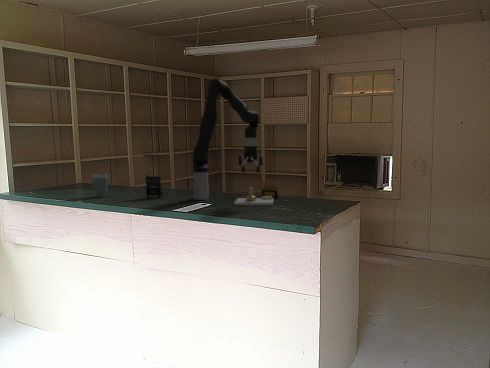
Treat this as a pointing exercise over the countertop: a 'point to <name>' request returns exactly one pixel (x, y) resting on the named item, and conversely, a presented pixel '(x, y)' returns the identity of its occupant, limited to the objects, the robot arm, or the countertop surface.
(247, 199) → the levelling knob
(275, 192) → the ammunition clip
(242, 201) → the base plate
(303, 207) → the countertop surface
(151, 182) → the geiger counter
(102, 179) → the disposable coffee cup
